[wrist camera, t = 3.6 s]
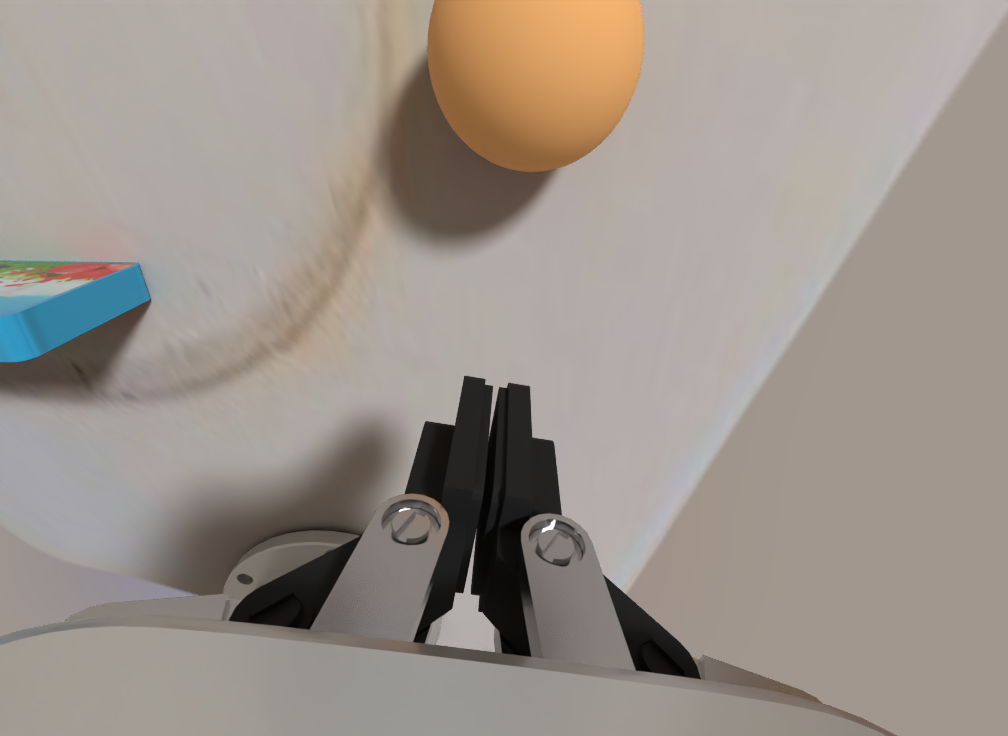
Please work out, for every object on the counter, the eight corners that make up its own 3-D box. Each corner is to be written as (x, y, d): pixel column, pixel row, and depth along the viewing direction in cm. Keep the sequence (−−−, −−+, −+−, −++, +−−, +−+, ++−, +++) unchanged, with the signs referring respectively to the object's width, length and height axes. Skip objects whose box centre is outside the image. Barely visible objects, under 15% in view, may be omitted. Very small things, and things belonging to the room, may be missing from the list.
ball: (593, 177, 18) (628, 202, 13) (432, 146, 18) (399, 159, 12) (642, -24, 15) (714, -99, 10) (453, -66, 15) (421, -167, 9)
